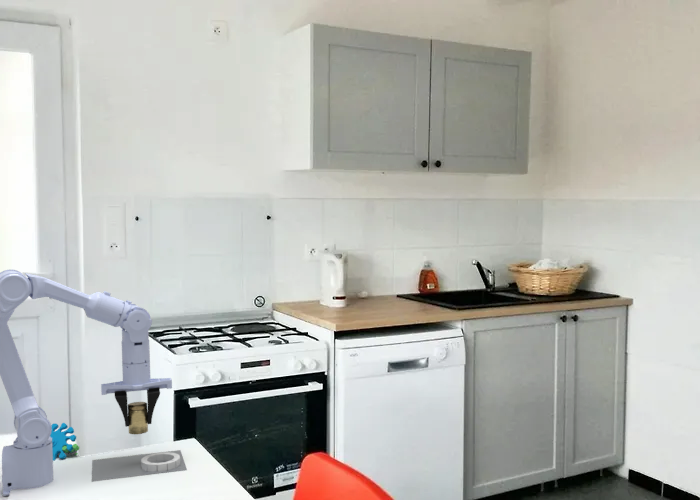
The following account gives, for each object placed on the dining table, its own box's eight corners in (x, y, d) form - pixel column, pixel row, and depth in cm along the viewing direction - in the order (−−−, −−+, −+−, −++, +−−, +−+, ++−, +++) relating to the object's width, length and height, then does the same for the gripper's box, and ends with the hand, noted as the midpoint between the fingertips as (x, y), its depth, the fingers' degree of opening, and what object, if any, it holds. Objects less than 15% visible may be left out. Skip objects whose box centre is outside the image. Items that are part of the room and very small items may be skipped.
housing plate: (91, 486, 149) (91, 474, 149) (92, 464, 163) (92, 453, 163) (187, 474, 156) (186, 462, 155) (180, 454, 169) (180, 443, 169)
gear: (20, 456, 164) (45, 417, 170) (32, 468, 168) (56, 429, 174) (62, 467, 161) (86, 427, 167) (73, 479, 165) (96, 439, 171)
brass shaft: (129, 435, 157) (128, 407, 157) (127, 430, 161) (127, 402, 160) (148, 432, 158) (147, 405, 158) (146, 428, 162) (146, 400, 162)
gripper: (100, 368, 152) (102, 433, 153) (172, 362, 157) (174, 425, 158) (100, 361, 159) (102, 424, 160) (169, 356, 164) (171, 416, 164)
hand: (138, 424), depth 159 cm, fingers closed on brass shaft, 4 cm apart
